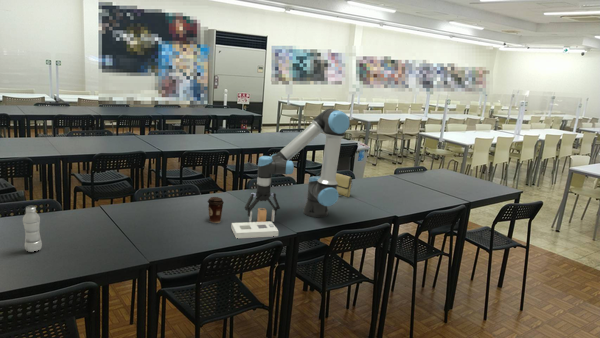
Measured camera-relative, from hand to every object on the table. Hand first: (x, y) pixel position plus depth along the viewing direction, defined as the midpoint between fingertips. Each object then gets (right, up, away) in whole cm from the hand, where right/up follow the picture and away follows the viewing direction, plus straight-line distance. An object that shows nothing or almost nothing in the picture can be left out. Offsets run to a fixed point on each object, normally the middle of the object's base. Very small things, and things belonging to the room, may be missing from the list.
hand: (261, 221), depth 245 cm
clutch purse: (+45, +11, +69) cm, 83 cm away
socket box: (-3, -4, -14) cm, 15 cm away
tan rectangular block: (0, -1, 0) cm, 1 cm away
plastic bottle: (-94, -6, -54) cm, 109 cm away
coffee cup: (-26, 0, -3) cm, 26 cm away
